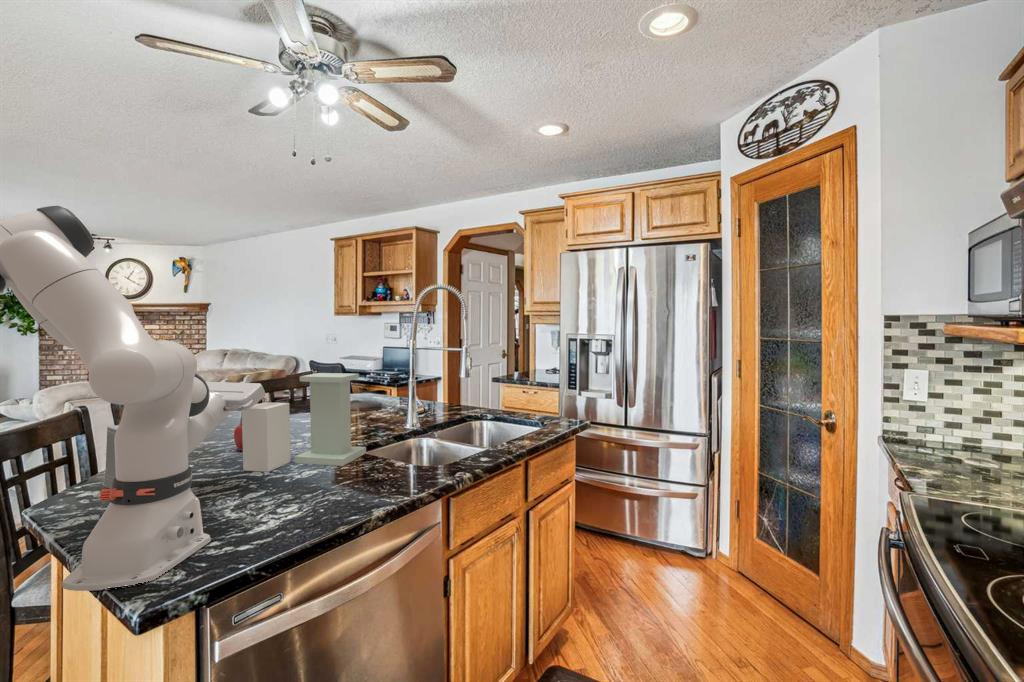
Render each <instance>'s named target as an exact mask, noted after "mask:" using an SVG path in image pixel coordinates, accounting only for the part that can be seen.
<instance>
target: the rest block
mask: <svg viewBox="0 0 1024 682" xmlns="http://www.w3.org/2000/svg"><path fill="white" fill-rule="evenodd" d="M290 412H291V411H290V402H273V401H272V402H271V401H267V402H266V401H265V402H261V403H256V404H255V405H254V406H253V407H251V408H250V409H247V410H242V411H241V425H242V439H243V450H242V468H243V469H242V471H247V472H249V471H250V472H260V473H261V472H265V473H269V472H271V471H273V470H276V469H278V468H280V467H282V466H284V465H287V464H289V463H290V462H291V461H292V459H291V458H292V457H291V423H290V422H291V421H290V415H291V414H290Z"/></svg>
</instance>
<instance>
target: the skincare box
mask: <svg viewBox="0 0 1024 682" xmlns="http://www.w3.org/2000/svg"><path fill="white" fill-rule="evenodd" d="M118 427H119V424H118V425H115V424H114V425H109V426H107V427H106V429H107V430H106V451H105V474H104V475H105V476H104V488H105V489H111V486H112V483H113V479H114V478H115V477H116V470H115V444H114V437H115V433H116V431H117V429H118Z"/></svg>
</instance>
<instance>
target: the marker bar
mask: <svg viewBox="0 0 1024 682" xmlns="http://www.w3.org/2000/svg"><path fill="white" fill-rule="evenodd" d="M244 375H251V377H252V381H251V382H250V383H256V382H258V381H259V382H260V381H267V380H272V379H273V380H274V379H275V380H276V379H277V380H278V379H283V378H286V377H287V369H284V368H272V369H263V370H258V371H251V372H243V373H234V374H227V378H228V382H233V383H240V382H243V380H242V377H243V376H244Z"/></svg>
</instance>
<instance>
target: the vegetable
mask: <svg viewBox="0 0 1024 682" xmlns="http://www.w3.org/2000/svg"><path fill="white" fill-rule="evenodd" d="M233 438H234V439H233V441H234V444H235V446H236V448H238V450H240V451H243V439H242V424H239V425H238V426H236V428H235V429H234V431H233Z"/></svg>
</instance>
